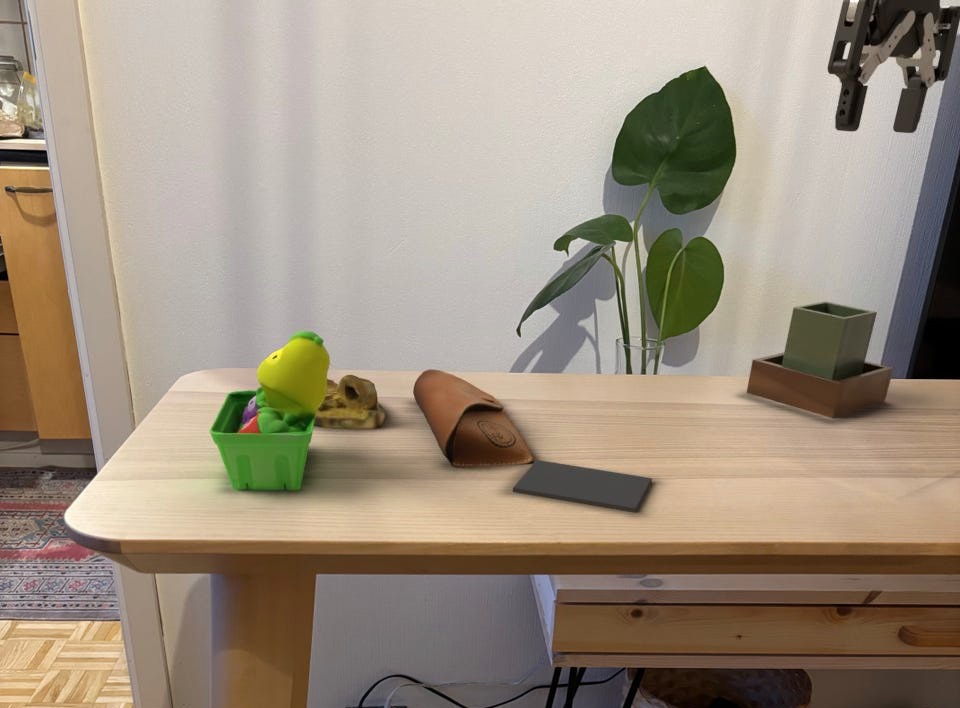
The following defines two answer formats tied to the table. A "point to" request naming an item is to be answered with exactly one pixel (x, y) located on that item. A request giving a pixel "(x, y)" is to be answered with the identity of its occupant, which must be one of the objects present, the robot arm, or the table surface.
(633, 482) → the felt mat
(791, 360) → the green square pen holder
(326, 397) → the tan lumpy piece
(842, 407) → the brown open box
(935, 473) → the table surface
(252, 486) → the fruit basket
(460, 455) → the sunglasses case
